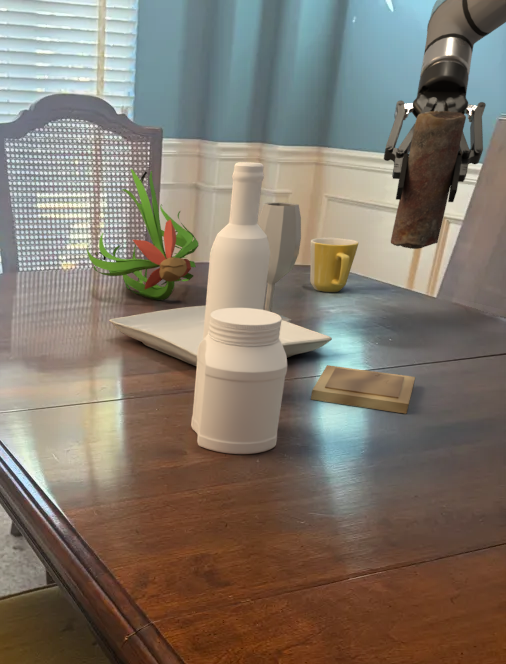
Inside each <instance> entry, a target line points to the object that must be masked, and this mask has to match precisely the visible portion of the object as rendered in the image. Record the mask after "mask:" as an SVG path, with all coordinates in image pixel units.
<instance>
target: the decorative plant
mask: <svg viewBox="0 0 506 664" xmlns="http://www.w3.org/2000/svg"><path fill="white" fill-rule="evenodd" d="M129 169H130V172H131V175H132V179H133V182H134V184H135V187H136V190H137V193H138V197H139V200H140V202H138V200H137V198H136V196H135V194H133V193H132V192H131V191H129V190H128V189H126V188H122V189H121V192H122V191H123V192H125V193H126V194H127V196H129V197H130V198H131V199H132V201H133V202H134V203H135V205H136V207H137V209H138V210H139V212H140V215H141V217H142V219H143V222H144V225H145V227H146V230H147V232H148V235H149V237H150V240H151V242H150V241H147V240H144V239H143V240H142V239H131V240H132V242H133V243H134V244H135V245H134V248H133V252H132V258H120V257H118V256H116V254H117V252H118V250H119V248H120V247H121V244H120V245H117V246H116V247H115V248H114V249H113V251H112V254H111V253H110V252H108V250H107V249H106V247H105V245H104V241H103V237H104V236H105V234H104V233H103V232H102V233H101V235H100V237H99V241H98V248H99V251H97V252H96V251H95V253H94V255H95V256H96V257H97V258H96V257H95V256H94V255H92V254H91V252H90V251H89V249H88V247H89V245H87V246H86V253H87V256H88V259H89V260H90V262H91V263H92V265H93V270H94V271H95V272H97V273H99V274H101V275H104V276H108V277H121V276H122V280H123V282H124V285H125V287H126V288H127V289H128V290H129V291H131V292H132V293H133V294H136V295H139V296H141V297H144V298H148V299H151V300H155V301H164V300H166V299H168V298H169V297H171V295H172V293H173V291H174V289H175V285H176V284H175V282H176V283H177V282H188V281H190V280H191V279H193V278H194V275H193V274H191V273H190V271H191V270H192V268H197V267H196V263H195V261H194V260H189V259H187V256H188V255H190V254H193V253H195V252H196V250H197V249H198V247H199V241H198V240H197V238H196V237H195V235H194V234H193V233H192V232H191V231H190V230H189V229H188V228H187V227H186V226H185V224H183V223H182V222H180V224H181V225H182V226H181V225H180V224H179V223H178V222H176V221H175V220H174V219H173V218H172V217H170V215H169V214H168V213H167V212H166V211H165V210H164V209H163V204H162V203H160V206H159V203H158V199H157V193H156V190H155V186H154V181H153V170H151V171H150V173H149V175H148V176H149V177H148V181H149V188H150V194H151V202H150V198H149V195H148V193H147V191H146V188H145V187H144V184H143V181H144V179H145V177H146V176H147V174H148V171H144V173H143V174H142V175H141V177H140V178H139V176H138V174H137V173H136V172H135V171H134V170H133V168H129ZM159 209H160V211H161V214H162V215H163V217H164V219H165V220H166V221H165V226H164V230H163V229H162V226H161V219H160V212H159ZM180 213H181V210H179V211H178V212H177V219H178V220H180ZM136 247H137V248H138V249H139V251H140V252H141V253H142V255H144V257H145V258H147V259H145V258H143V259H142V258H136ZM175 248H177V249H179V251H178V252H177V253H176V252H175ZM98 254H100V255H102V256H103V258H102V259H101V258H98V257H99V255H98ZM173 254H175V255H173ZM106 259H109V260H112V261H107V260H106ZM96 267H97V268H99V269H102V270H106V271H108V272H102V271H101V272H100V271H98V270H97V268H96ZM155 268H156V269H155ZM151 269H154V270H153V271H152V272H151V273H150V274H149V276H148V270H151ZM142 271H145V272H144V275H143V272H142ZM130 274H133V275H134V276H135V277H137V280H136V279H134V278H132V277H131V276H129V275H130ZM147 277H148V278H147ZM182 278H183V279H182ZM161 281H164V282H163V283H160V282H161ZM144 283H145V284H144ZM159 283H160V285H158V284H159ZM163 285H164V286H163ZM131 288H133V289H135V290H136V291H134V290H133V289H131ZM137 291H138V292H137Z"/></svg>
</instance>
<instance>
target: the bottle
mask: <svg viewBox="0 0 506 664" xmlns="http://www.w3.org/2000/svg"><path fill="white" fill-rule="evenodd" d="M264 168H265V165H264V164H263V163H262V162H253V161H251V162H250V161H238V162H236V163H235V164H234V166H233V172H232V174H231V179H232V187H231V198H230V208H229V219H228V223H227V224H226V225H224V227H223V228H222V229H221V230H220V231H219V232H217V233H216V236H215V238H214V241H213V243H212V245H211V249H210V250H209V251H210V252H209V262H208V263H209V264H208V273H207V274H208V276H207V287H206V299H205V305H206V309H205V321H204V333H203V339H204V338H205V337H206V336H207V335H208V332H209V326H210V323H209V322H210V314H211V313H212V312H213V311H215V310H219V309H224V308H252V309H260V310H264V308H265V300H266V292H267V284H268V283H267V274H268V266H269V258H270V249H269V243H268V239H267V235H266V234H265V233H264V232H263V230H262V229H261V228H260V226H259V225H258V224H257V222H258V217H259V214H260V212H259V211H260V204H261V203H260V202H261V195H262V186H263V181H264V179H265V173H264Z"/></svg>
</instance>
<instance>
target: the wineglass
mask: <svg viewBox="0 0 506 664" xmlns="http://www.w3.org/2000/svg"><path fill="white" fill-rule="evenodd" d="M301 216H302V215H301V209H300V204H297V203H293V202H281V201H273V202H272V201H269V202H265V203H263V205H262V208H261V210H260V212H259V214H258V222H257V224H258V225H259V226H260V228H261V229H262V230H263V232H264V233H265V234H266V235H267V239H268V243H269V249H270V258H269V266H268V274H267V283H266V292H265V300H264V308H263V310H265V311H269V312H273V304H274V298H275V297H274V295H275V288H276V284H277V283H278V282H279V281H281V279H283V278H284V277H285V276H286V275H287V274H289V273H290V272H291V271H292V270H294V267H295V265H296V261H297V260H298V257H299V254H300V248H301V240H302V217H301ZM278 315H279V316H280V317H281V318H282V320H284V321H287V322H289V323H292V318H289V317H286V316H284V315H282V314H278Z"/></svg>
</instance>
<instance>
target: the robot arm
mask: <svg viewBox="0 0 506 664" xmlns="http://www.w3.org/2000/svg"><path fill="white" fill-rule="evenodd" d="M504 24H506V0H436V1H435V2H434V4H433V6H432V10H431V13H430V17H429V20H428V22H427V27H426V28H427V29H426V40H425V46H424V51H423V52H424V53H423V56H422V64H421V69H420V75H419V80H418V81H419V83H418V87H417V93H416V97H415V99H414V100H413V102H410V103H409V102H408V103H405V101H404V100H402V99H401V100H398V101H397V102H396V104H395V110H394V114H393V115H394V121H393V124H392V127H391V129H390V133H389V135H388V139H387V141H386V145H385V149H384V154H383V161H386V162H390V161H392V162H393V168H392V174H391V177H392V180H398V183H397V189H396V195H395V200H397V201H399V200H401V196H402V191H403V186H404V180H405V174H406V168H407V162H408V157H409V152H410V148H411V142H412V137H413V132H414V128H415V123H416V121H415V122H414V123H413V125H412V127H411V128H410V130H409V131H408V133H407V134H406V136H405V137H404V139H403V140H402V141H401V143H400V145H399V146H398V147H396V146H397V143H398V139H399V137H400V134H401V131H402V128H403V125H404V121H406V119H407V118H409V115H410V114H412V115H413V117H415V120H416V119H417V116H418V115H419V114H421V113H425V112H430V111H438V112H441V111H448V112H458V113H462V114H464V115H467V120H468V122H469V123H470V125H469V126H470V127H469V139H470V141H469V142H470V148H469V145H468V142H467V139H466V136H465V133H464V131H463V132H462V136H461V141H460V146H459V150H458V154H457V158H456V163H455V167H454V171H453V176H452V181H451V185H450V190H449V194H448V199H447V202H448V203H454V201H455V198H456V195H457V192H458V187H459V183H463V182H464V181H465V180H466V177H467V174H468V168H469V165H470V164H472V165H477V164H479V163H480V160H481V158H482V154H483V152H484V137H483V135H484V134H483V115H484V111H485V109H486V106H487V105H486V104H487V103H485V101H480V102H478V103H477V105H476V104H475V105H474V104H469V100H468V99H467V92H468V87H469V86H468V85H469V76H470V72H471V66H472V65H471V64H472V56H473V51H474V45H475V44H476V43H477V42H479V41H480V40H482V39H483V38H485V37H486V36H488V35H489V34H491V33H492V32H494V31H495V30H497V29H498V28H500V27H501V26H503V25H504Z"/></svg>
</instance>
